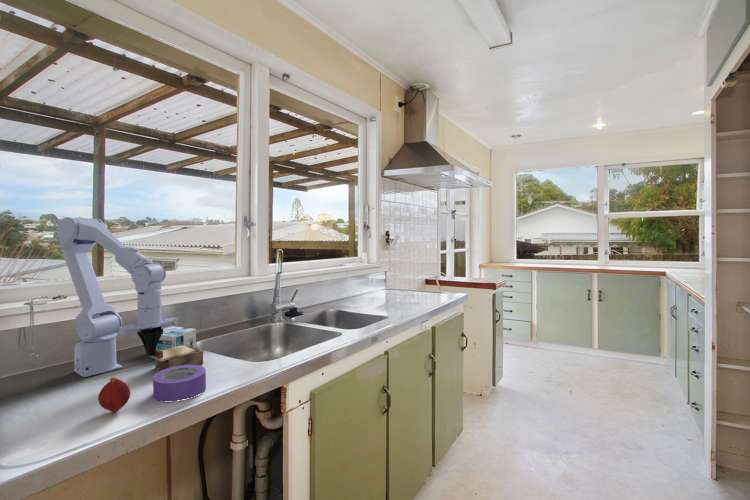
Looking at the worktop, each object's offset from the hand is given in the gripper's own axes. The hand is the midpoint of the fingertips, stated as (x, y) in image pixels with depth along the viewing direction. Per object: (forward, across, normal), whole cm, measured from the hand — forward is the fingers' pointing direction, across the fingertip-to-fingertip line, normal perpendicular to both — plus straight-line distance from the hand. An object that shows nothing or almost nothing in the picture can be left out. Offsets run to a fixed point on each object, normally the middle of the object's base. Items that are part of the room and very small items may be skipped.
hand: (150, 355), depth 106 cm
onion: (+6, -15, -17) cm, 23 cm away
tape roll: (+6, -1, -18) cm, 19 cm away
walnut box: (+5, +8, 0) cm, 10 cm away
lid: (+1, +6, 0) cm, 6 cm away
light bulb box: (+2, +19, +18) cm, 26 cm away
